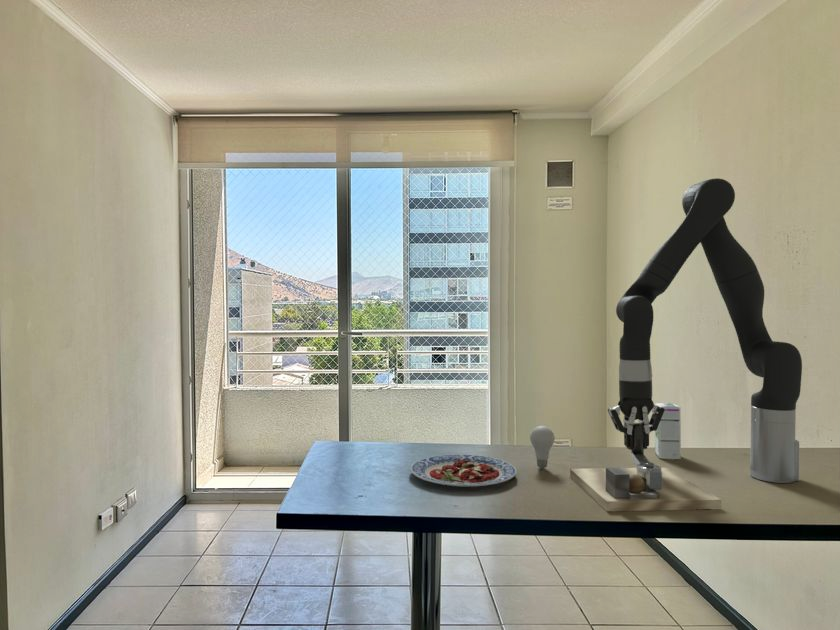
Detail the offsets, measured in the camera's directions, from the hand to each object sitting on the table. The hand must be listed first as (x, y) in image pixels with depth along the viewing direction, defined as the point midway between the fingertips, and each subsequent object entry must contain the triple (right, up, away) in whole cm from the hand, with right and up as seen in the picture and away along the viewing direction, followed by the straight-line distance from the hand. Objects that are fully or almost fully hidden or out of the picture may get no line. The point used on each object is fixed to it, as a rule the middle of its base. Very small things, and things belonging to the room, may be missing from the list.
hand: (636, 448), depth 137 cm
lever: (-2, -4, -9) cm, 10 cm away
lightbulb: (-22, -7, +7) cm, 24 cm away
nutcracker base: (-3, -7, -11) cm, 13 cm away
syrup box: (+16, -7, +19) cm, 26 cm away
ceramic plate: (-42, -7, +1) cm, 43 cm away
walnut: (-7, -5, -18) cm, 20 cm away
